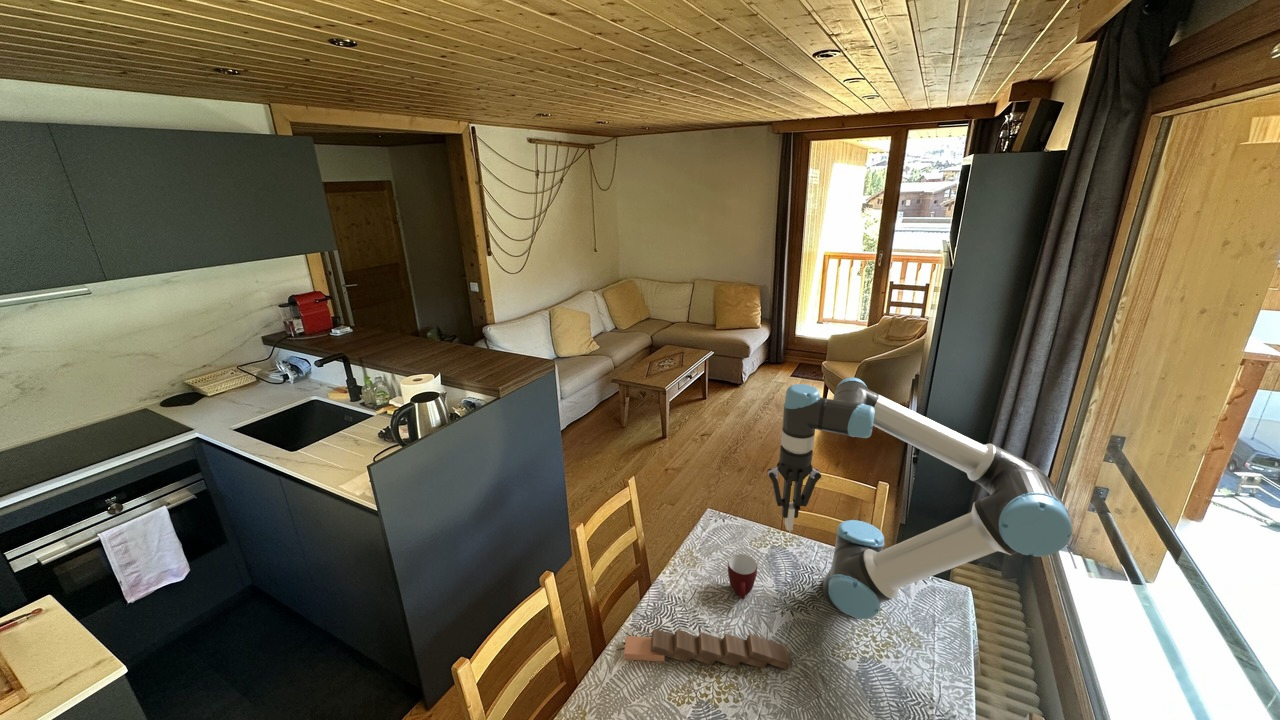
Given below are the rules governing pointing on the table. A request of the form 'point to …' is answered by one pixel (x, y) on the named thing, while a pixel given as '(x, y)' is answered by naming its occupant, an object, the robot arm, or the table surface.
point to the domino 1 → (640, 649)
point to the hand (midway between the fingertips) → (788, 526)
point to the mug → (742, 574)
